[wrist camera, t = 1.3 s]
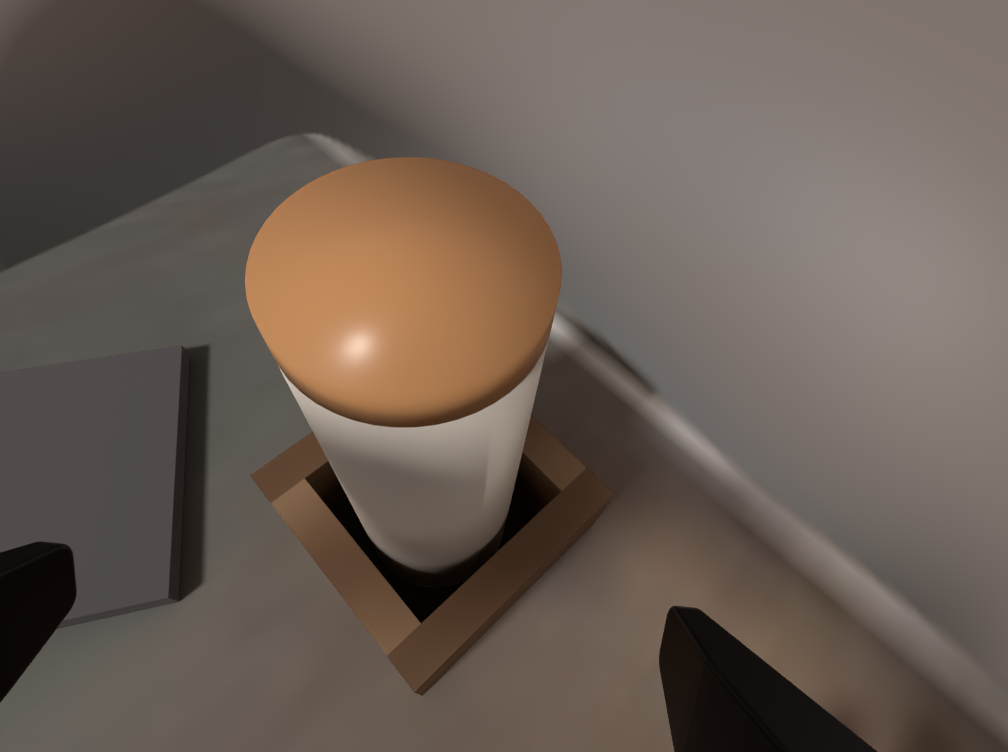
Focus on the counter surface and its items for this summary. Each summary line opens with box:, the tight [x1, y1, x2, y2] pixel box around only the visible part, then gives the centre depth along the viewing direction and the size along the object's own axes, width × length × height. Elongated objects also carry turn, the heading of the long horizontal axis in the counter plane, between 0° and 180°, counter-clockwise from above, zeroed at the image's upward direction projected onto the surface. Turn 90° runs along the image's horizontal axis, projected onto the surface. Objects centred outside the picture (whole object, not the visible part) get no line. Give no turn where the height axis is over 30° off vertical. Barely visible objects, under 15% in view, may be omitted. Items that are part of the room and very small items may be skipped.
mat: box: [0, 346, 190, 628], centre depth 20 cm, size 10×10×1 cm
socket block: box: [250, 415, 614, 695], centre depth 20 cm, size 8×8×4 cm
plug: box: [245, 157, 562, 588], centre depth 15 cm, size 5×5×14 cm
